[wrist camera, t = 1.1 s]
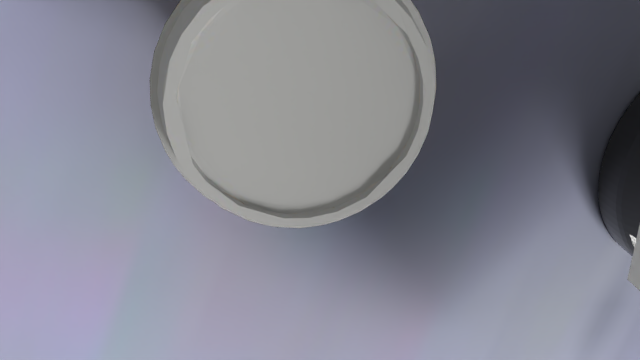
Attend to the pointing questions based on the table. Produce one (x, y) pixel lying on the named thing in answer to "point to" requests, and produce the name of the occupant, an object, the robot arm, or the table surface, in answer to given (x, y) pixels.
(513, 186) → the table surface
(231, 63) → the disposable coffee cup
